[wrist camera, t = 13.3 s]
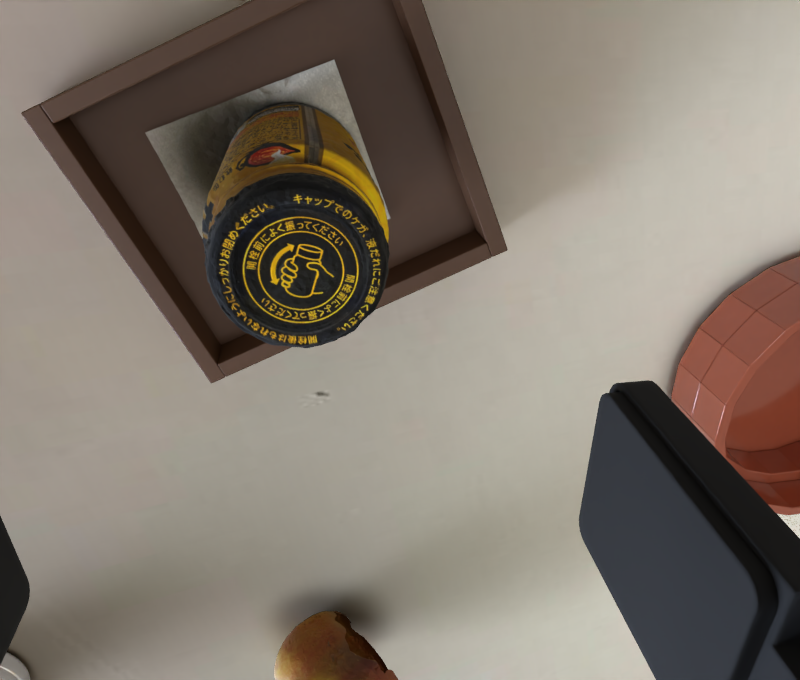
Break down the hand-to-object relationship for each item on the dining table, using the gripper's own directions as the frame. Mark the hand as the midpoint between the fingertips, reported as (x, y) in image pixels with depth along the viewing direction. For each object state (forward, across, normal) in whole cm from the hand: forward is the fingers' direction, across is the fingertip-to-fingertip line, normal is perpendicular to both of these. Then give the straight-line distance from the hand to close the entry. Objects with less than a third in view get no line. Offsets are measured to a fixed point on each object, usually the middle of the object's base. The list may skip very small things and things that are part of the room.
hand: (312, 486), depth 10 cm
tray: (+22, +1, 0) cm, 22 cm away
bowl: (+22, -28, +13) cm, 38 cm away
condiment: (+21, +1, 0) cm, 21 cm away
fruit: (+21, +1, +31) cm, 38 cm away
